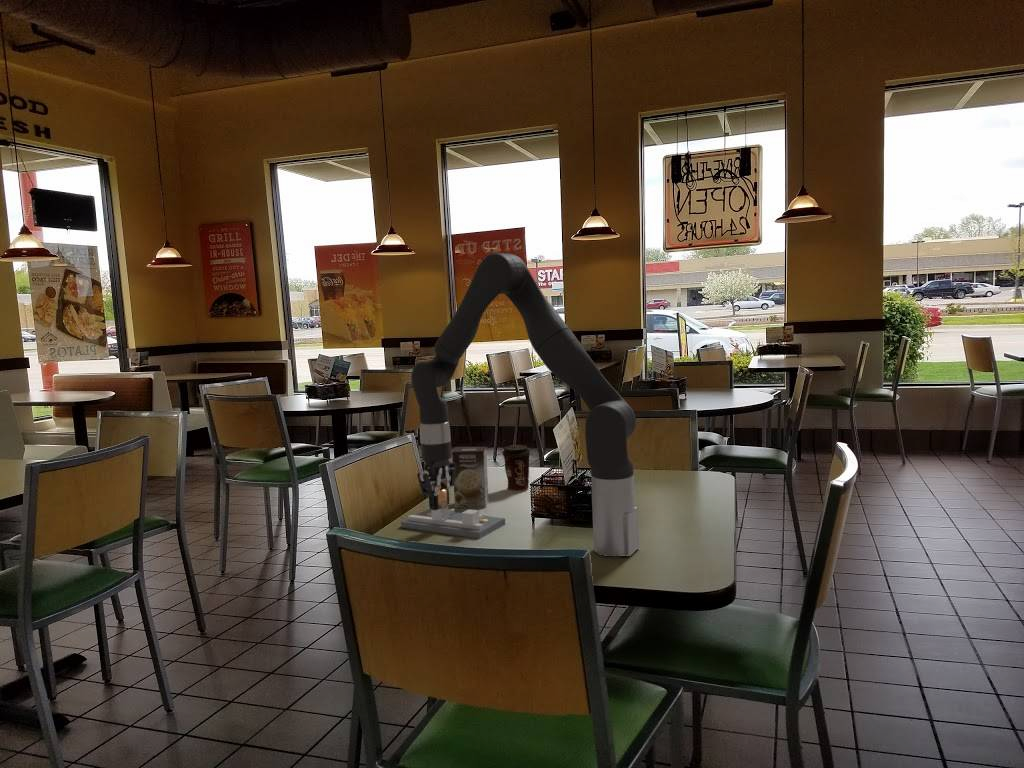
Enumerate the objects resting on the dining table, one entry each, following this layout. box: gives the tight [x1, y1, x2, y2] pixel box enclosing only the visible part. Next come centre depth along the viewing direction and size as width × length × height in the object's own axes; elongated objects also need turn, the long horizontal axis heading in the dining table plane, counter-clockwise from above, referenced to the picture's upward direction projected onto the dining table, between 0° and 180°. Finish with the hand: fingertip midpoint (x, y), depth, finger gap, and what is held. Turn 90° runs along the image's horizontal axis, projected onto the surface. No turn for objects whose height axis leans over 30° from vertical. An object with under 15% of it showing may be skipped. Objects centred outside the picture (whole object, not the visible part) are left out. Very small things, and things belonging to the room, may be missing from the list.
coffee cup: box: [502, 444, 531, 493], centre depth 217 cm, size 9×8×13 cm
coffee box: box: [451, 446, 490, 509], centre depth 203 cm, size 9×6×16 cm
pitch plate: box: [400, 508, 506, 539], centre depth 185 cm, size 24×12×6 cm, turn 60°
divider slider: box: [432, 487, 456, 521], centre depth 184 cm, size 4×8×8 cm, turn 150°
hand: (439, 506), depth 182 cm, fingers closed on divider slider, 4 cm apart
